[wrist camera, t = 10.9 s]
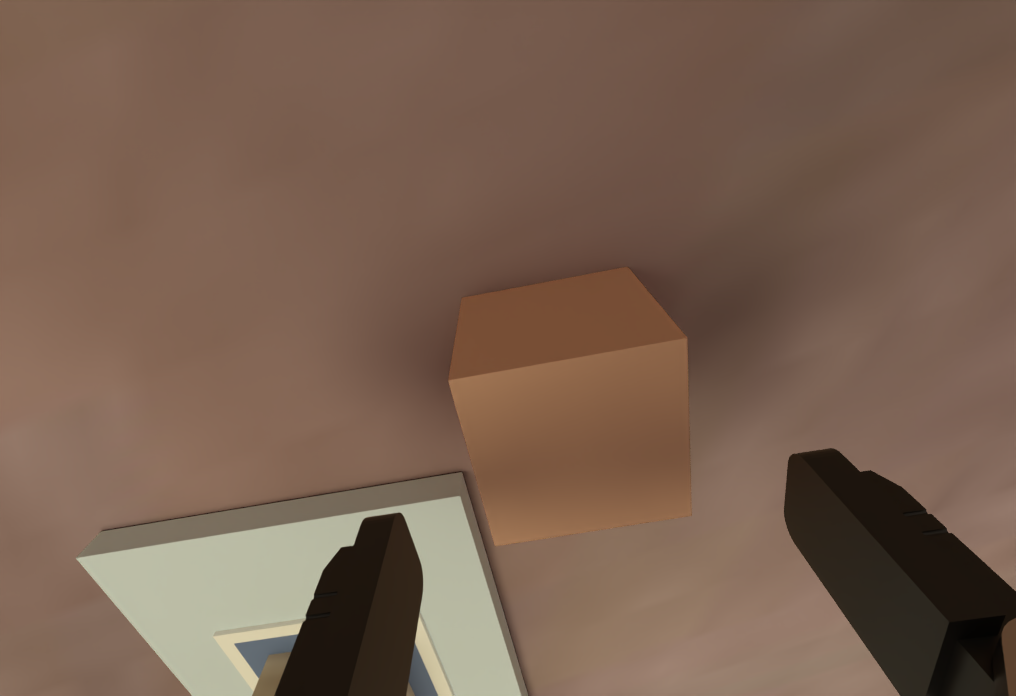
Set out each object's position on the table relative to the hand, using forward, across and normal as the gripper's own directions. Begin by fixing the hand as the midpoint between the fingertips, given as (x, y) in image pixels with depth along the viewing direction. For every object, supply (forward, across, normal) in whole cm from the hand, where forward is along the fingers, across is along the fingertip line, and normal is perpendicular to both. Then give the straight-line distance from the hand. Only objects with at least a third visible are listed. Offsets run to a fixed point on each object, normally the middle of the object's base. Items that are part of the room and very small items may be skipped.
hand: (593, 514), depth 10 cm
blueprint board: (+6, +11, +12) cm, 18 cm away
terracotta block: (+6, 0, -1) cm, 6 cm away
